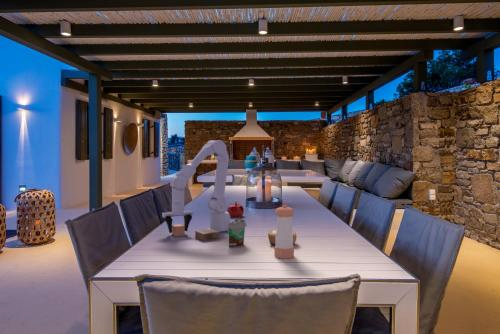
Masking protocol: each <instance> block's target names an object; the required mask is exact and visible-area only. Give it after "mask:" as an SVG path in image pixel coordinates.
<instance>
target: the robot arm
mask: <svg viewBox="0 0 500 334" xmlns="http://www.w3.org/2000/svg"><path fill="white" fill-rule="evenodd" d="M209 156H214V158H215V159H216V160H217V163H216V170H215V179H214V187H213V192H212V194H211V195H210V199H209V200H208V203H207V205H208V208H209V210H210V211H209V227H208V228H206V229H213V230H216V231H218V232H219V233H220V232H229V229H228V223H231V216H230V214H229V213H228V212H227V209H228V202H227V196H226V193H225V192H226V191H225V190H226V185H227V184H226V183H227V176H228V171H229V170H228V167H229V162H230V161H229V160H230V159H229V158H230V156H229V153H228V150H227V144H225V143H224V141H223V140H221V139H218V140H208V141H207V142H206V144H204V145H203V146H202V148H201V149H200V151H199V152H198V153H197V154H196V156H194V158H193V159H192V161H191V162H190V163H186V164H183V165H182V167H181V170H179V172H177V173H176V174H175V176H174V177H172V178H171V180H170V182H169V185H170V187H171V211H167V212H161V214H162V215H161V217H162V218H164V221H165V222H166V224H167V229H168V233H169V234H172V225H173V218H172V217H183V223H184V224H183V225H184V226H185V232H188V229H189V225H190V222H191V221H192V219H193V216H194V212H195V211H194V210H185V188H186V187H187V185H188V184H187V183H188V182H189V181H190V180H191V178H193V176H194V175H195V173H197V167H199V165H201V163H203V161H204V160H205V159H206V157H209Z"/></svg>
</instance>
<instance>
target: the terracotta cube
mask: <svg viewBox="0 0 500 334" xmlns="http://www.w3.org/2000/svg"><path fill="white" fill-rule="evenodd" d="M185 232H186V231H185V226H184V224H182V223H178V224H172V233H171V235H173V236H174V237H181V236H186V235H185Z"/></svg>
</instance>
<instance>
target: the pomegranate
mask: <svg viewBox="0 0 500 334" xmlns="http://www.w3.org/2000/svg"><path fill="white" fill-rule="evenodd" d="M234 202H235V203H233V202H231V203H230V205H229V206H227V209H226V212H228V213H229V214H230V218H241V217H242V216H243V215H244V214H245V208H244V206H243V205H242V204H241V203H239V202H238V200H235V201H234Z"/></svg>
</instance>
